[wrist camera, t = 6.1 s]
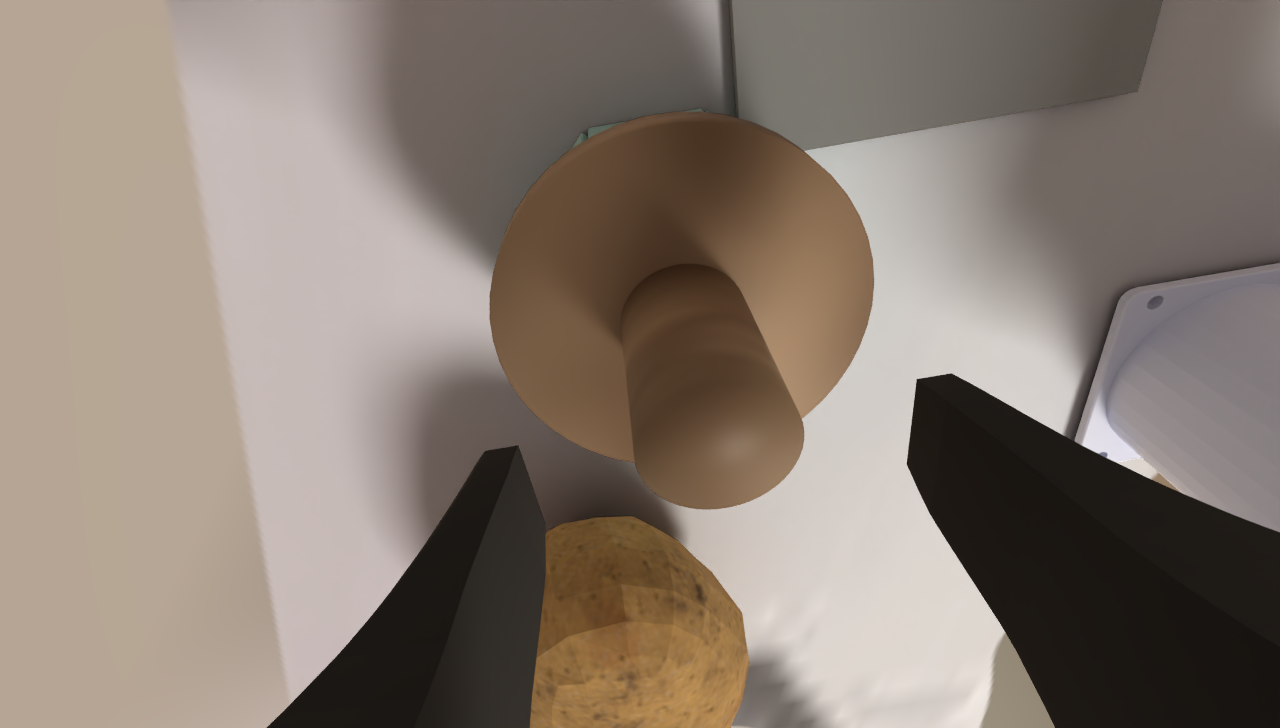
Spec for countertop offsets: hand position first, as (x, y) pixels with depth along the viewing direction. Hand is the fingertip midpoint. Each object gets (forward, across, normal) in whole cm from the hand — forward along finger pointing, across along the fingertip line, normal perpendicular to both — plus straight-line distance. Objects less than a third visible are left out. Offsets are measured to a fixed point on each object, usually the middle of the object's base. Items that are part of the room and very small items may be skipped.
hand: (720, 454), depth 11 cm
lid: (+5, 0, 0) cm, 5 cm away
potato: (+10, +4, +14) cm, 17 cm away
